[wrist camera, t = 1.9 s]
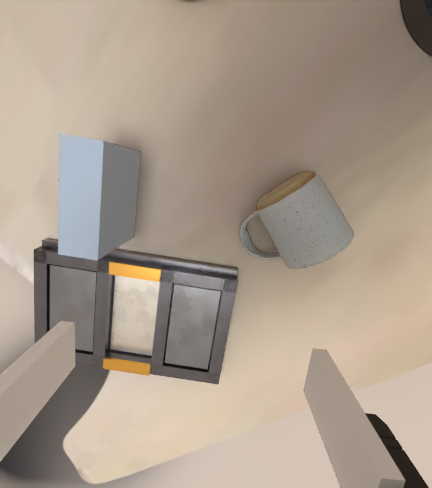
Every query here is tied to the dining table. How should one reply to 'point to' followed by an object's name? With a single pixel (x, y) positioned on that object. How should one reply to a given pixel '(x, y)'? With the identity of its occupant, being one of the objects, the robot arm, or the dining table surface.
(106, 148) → the blue-grey rectangular block
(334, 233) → the ceramic mug
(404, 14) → the robot arm
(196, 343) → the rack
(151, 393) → the dining table surface
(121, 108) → the dining table surface
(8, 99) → the dining table surface
